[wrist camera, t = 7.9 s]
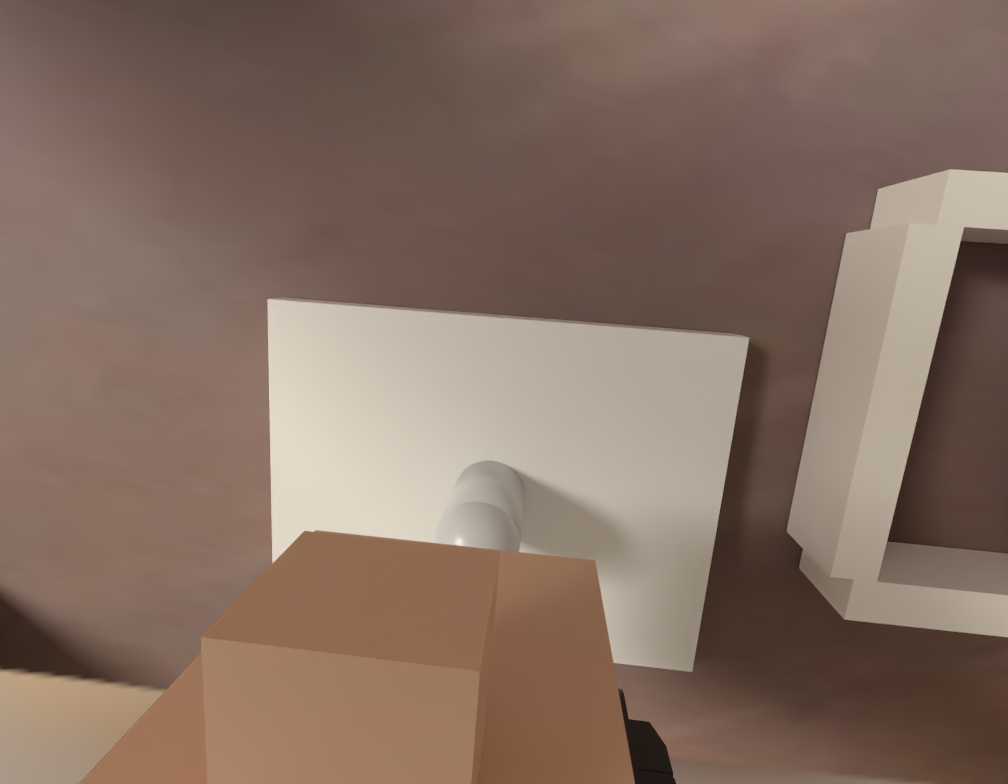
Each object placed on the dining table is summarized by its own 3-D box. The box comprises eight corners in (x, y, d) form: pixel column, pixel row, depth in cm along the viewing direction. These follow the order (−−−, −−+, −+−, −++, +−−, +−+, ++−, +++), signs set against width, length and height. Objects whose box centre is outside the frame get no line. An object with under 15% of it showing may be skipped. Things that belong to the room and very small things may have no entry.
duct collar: (314, 762, 13) (46, 1318, 6) (316, 422, 11) (-60, 651, 4) (566, 795, 12) (591, 1429, 6) (608, 450, 11) (721, 752, 4)
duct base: (286, 297, 22) (170, 305, 15) (734, 333, 21) (826, 359, 14) (289, 603, 25) (194, 723, 18) (683, 647, 24) (738, 793, 17)
